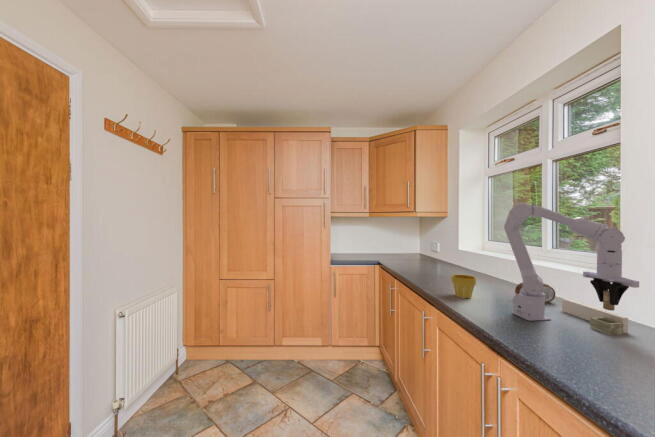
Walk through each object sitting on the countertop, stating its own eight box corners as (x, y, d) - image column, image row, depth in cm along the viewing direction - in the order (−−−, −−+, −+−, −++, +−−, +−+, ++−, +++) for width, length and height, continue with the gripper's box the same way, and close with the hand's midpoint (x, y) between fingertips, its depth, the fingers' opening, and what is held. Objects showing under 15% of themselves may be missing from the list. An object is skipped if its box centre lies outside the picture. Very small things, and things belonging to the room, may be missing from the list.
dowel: (609, 310, 86) (610, 292, 86) (600, 307, 89) (601, 290, 89) (616, 310, 86) (616, 292, 86) (607, 307, 89) (607, 290, 89)
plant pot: (474, 295, 127) (474, 275, 127) (477, 301, 118) (477, 279, 118) (451, 292, 132) (451, 273, 131) (452, 298, 122) (452, 277, 122)
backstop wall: (622, 333, 86) (622, 318, 86) (562, 311, 106) (562, 298, 106) (627, 332, 86) (628, 317, 86) (566, 310, 106) (566, 298, 106)
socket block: (608, 335, 85) (608, 324, 85) (590, 328, 90) (590, 317, 90) (623, 334, 85) (623, 323, 85) (603, 327, 91) (604, 317, 91)
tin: (552, 301, 118) (552, 283, 117) (556, 304, 114) (556, 285, 114) (514, 299, 121) (514, 281, 121) (517, 301, 118) (518, 283, 118)
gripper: (647, 267, 81) (647, 310, 81) (595, 259, 95) (594, 296, 95) (628, 267, 80) (627, 311, 80) (578, 259, 94) (577, 296, 94)
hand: (608, 303), depth 87 cm, fingers closed on dowel, 3 cm apart
